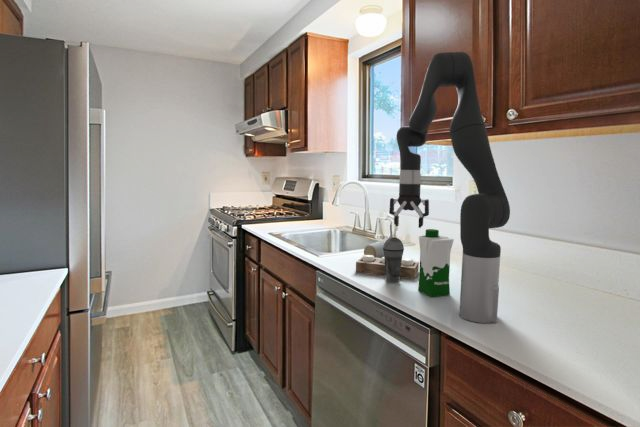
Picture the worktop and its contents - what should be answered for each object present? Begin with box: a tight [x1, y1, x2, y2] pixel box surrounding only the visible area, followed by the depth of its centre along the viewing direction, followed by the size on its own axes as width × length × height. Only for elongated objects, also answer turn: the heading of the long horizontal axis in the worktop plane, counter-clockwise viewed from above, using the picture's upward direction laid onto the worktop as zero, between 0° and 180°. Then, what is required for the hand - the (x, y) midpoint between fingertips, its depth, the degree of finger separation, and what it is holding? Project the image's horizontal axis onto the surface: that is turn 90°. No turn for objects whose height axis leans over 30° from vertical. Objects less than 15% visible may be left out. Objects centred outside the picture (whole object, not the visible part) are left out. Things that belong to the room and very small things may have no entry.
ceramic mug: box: [363, 241, 385, 258], centre depth 164 cm, size 11×8×8 cm
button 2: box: [401, 258, 414, 266], centre depth 144 cm, size 4×4×3 cm
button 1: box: [362, 254, 374, 262], centre depth 149 cm, size 4×4×3 cm
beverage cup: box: [383, 224, 405, 284], centre depth 134 cm, size 7×7×20 cm
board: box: [355, 256, 420, 280], centre depth 147 cm, size 22×10×4 cm, turn 68°
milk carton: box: [417, 228, 454, 298], centre depth 122 cm, size 9×9×20 cm
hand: (408, 226), depth 142 cm, fingers open, 8 cm apart
